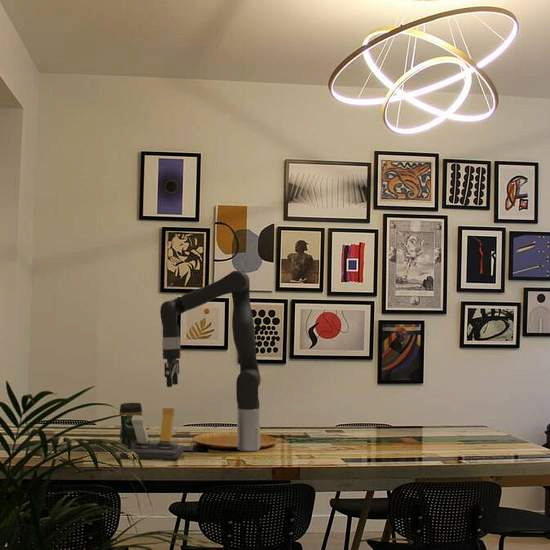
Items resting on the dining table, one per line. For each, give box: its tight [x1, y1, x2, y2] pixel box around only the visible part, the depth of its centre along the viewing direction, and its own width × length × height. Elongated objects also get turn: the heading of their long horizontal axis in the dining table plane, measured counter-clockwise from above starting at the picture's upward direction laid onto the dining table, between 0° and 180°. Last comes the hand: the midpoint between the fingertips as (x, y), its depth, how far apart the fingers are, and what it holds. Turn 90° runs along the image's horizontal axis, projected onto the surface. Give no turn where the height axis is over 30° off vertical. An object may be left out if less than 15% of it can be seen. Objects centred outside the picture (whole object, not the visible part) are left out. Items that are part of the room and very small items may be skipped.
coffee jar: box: [118, 402, 143, 447], centre depth 329 cm, size 10×8×19 cm
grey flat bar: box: [119, 449, 180, 461], centre depth 306 cm, size 24×2×4 cm, turn 81°
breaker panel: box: [129, 440, 185, 457], centre depth 314 cm, size 20×12×5 cm, turn 81°
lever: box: [131, 415, 151, 446], centre depth 311 cm, size 4×3×15 cm
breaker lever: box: [159, 407, 176, 447], centre depth 316 cm, size 4×3×15 cm, turn 81°
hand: (172, 385), depth 330 cm, fingers open, 8 cm apart
